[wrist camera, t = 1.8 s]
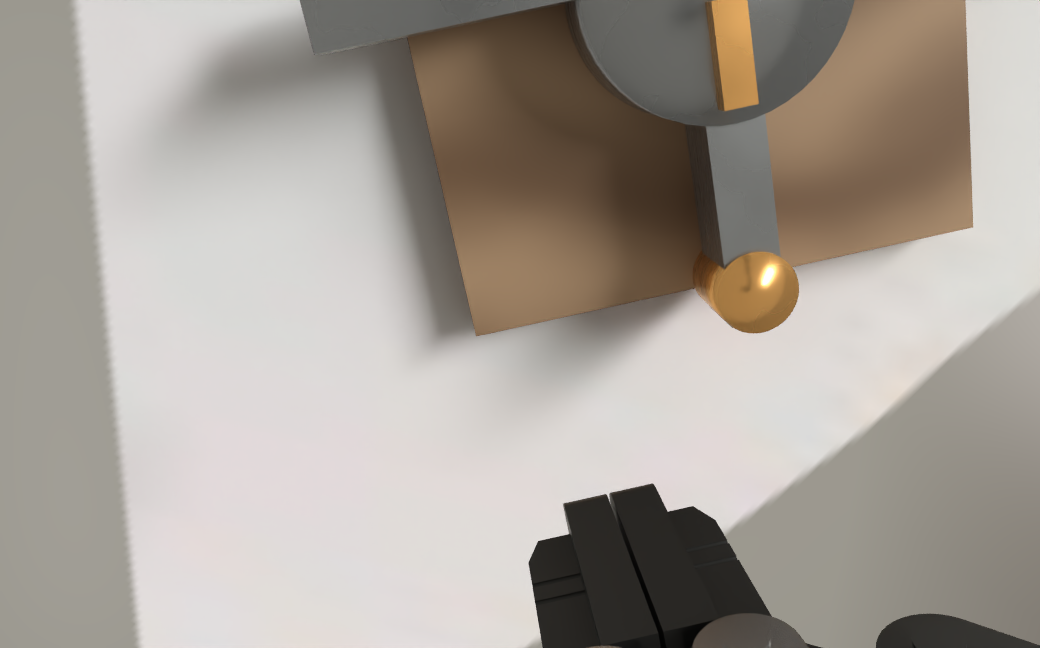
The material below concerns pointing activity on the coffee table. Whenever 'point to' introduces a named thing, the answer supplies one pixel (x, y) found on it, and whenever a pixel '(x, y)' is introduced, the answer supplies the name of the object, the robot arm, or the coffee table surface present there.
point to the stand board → (680, 159)
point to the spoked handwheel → (670, 104)
